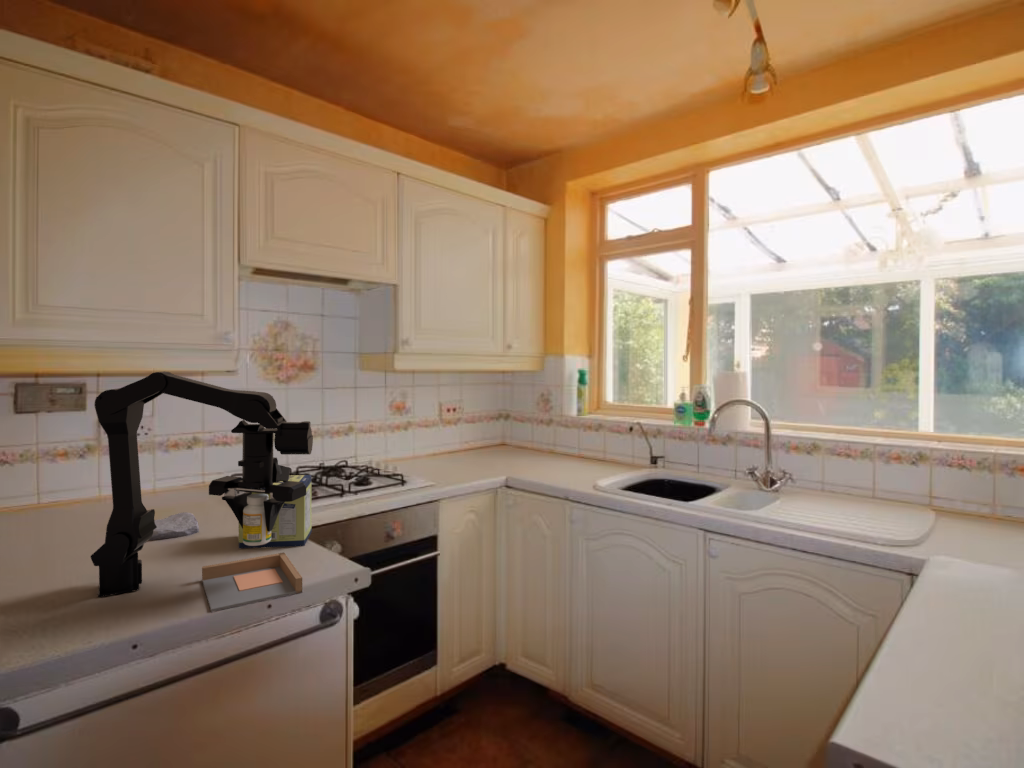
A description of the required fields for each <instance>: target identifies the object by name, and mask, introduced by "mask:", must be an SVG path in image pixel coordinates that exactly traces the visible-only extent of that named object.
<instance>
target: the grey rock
mask: <svg viewBox="0 0 1024 768" xmlns="http://www.w3.org/2000/svg"><path fill="white" fill-rule="evenodd" d="M154 522H155V525H156V526H157V528H156V529H154V530H153V535H152V537H151V538H150V539H149V540H148V541H155V540H163V539H175V538H178V537H179V538H181V537H188V536H191V535H194V534H198V533H199V532H200V526H199V523H198V519H197V518H196V516H195V515H194V513H192V512H179V513H175V514H171V515H169V516H167V517H166V518H165V517H164V518H161V519H159V518H158V519H154Z"/></svg>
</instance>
